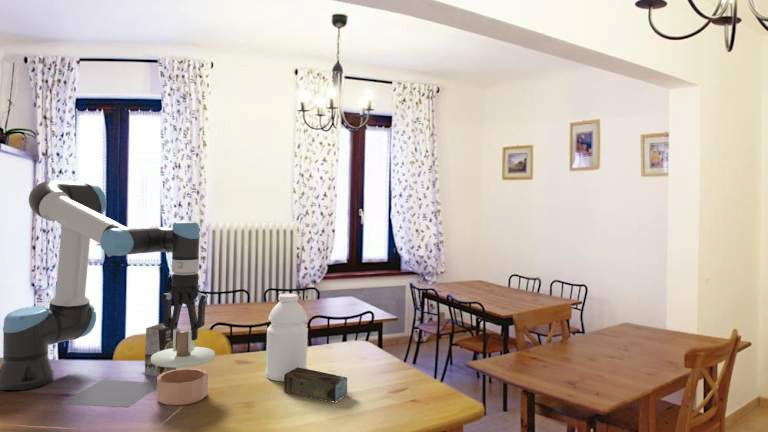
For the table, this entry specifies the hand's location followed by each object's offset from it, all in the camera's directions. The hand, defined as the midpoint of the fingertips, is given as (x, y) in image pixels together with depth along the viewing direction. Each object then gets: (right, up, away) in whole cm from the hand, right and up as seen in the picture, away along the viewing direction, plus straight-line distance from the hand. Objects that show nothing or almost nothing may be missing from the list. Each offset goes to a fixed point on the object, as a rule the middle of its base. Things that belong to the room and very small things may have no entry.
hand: (183, 350), depth 154 cm
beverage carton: (+39, -16, +7) cm, 43 cm away
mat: (-22, -14, +1) cm, 26 cm away
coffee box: (-17, -14, +22) cm, 31 cm away
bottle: (+27, -15, +23) cm, 38 cm away
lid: (0, -2, 0) cm, 2 cm away
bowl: (-1, -14, 0) cm, 14 cm away
